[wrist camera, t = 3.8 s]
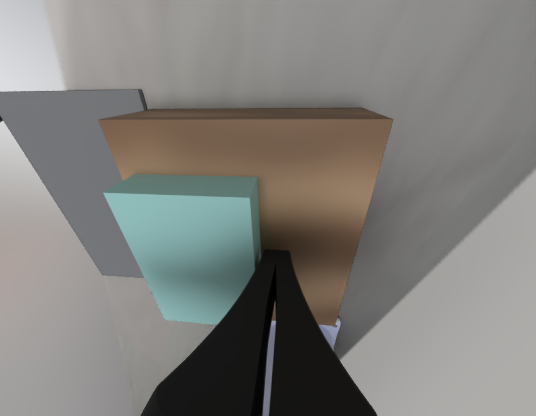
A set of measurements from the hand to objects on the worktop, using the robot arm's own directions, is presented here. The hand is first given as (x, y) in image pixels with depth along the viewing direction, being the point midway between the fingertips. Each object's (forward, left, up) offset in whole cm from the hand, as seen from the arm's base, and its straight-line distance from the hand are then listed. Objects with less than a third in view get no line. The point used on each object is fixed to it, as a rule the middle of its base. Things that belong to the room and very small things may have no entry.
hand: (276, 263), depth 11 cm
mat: (0, +13, -5) cm, 14 cm away
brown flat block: (0, +2, -5) cm, 5 cm away
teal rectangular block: (0, +4, -1) cm, 4 cm away
